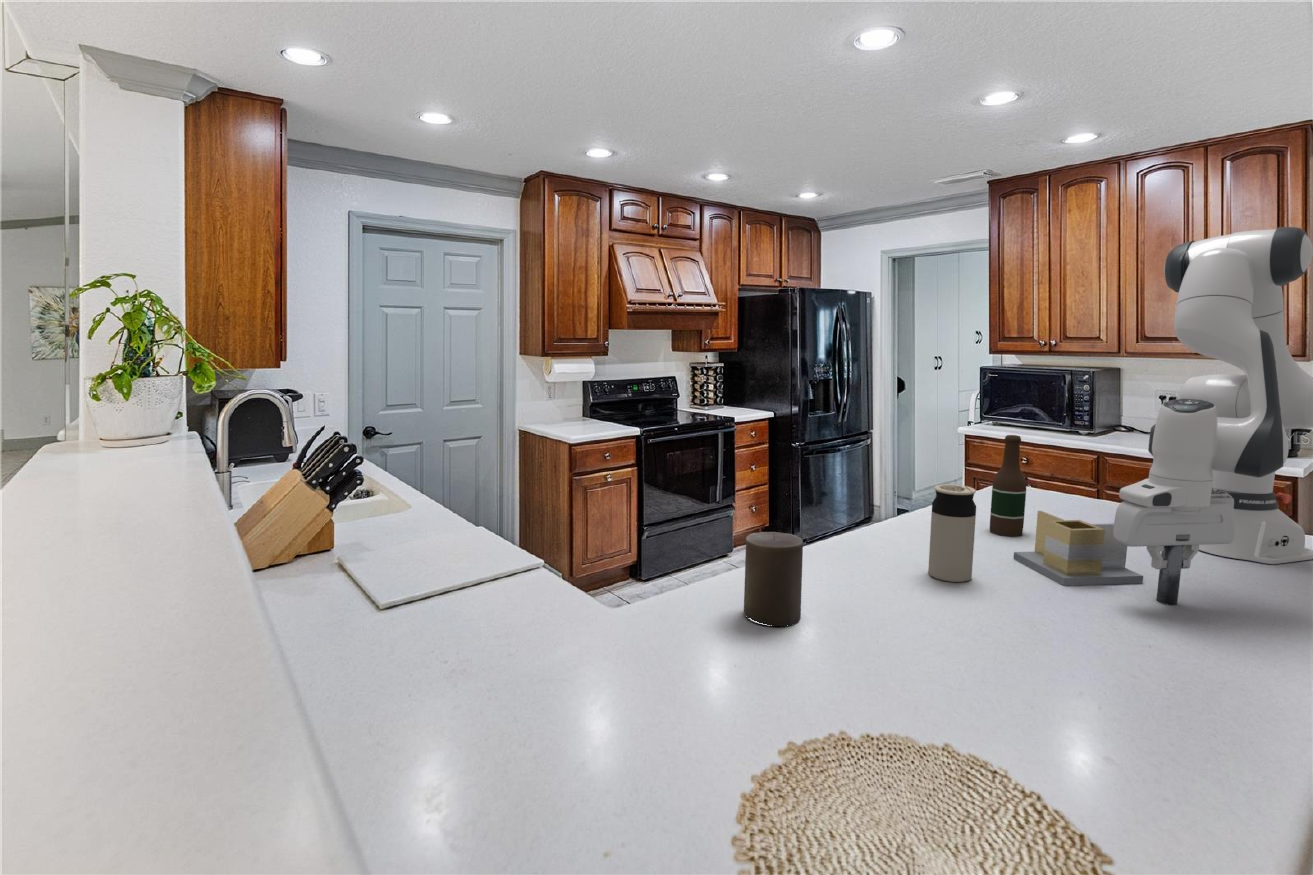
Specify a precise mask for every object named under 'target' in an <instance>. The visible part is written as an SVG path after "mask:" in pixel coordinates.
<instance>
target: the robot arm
mask: <svg viewBox="0 0 1313 875" xmlns="http://www.w3.org/2000/svg"><path fill="white" fill-rule="evenodd" d="M1312 259H1313V243H1312V241H1311V239H1310V237H1309V234H1308V232H1307V231H1305V230H1304V229H1303V228H1301V227H1294V226H1293V227H1292V226H1282V227H1281V226H1280V227H1279V226H1277V228H1276V229H1275V228H1274V229H1273V228H1272V229H1269V228H1268V229H1255V230H1245V231H1244V230H1242V231H1239V232H1238V231H1236V232H1232V233H1229V234H1224V235H1219V236H1214V237H1209V238H1205V239H1201V240H1198V241H1196V240H1191V241H1186V242H1183V243H1181V244H1178V245H1176V246H1174V247H1173V248H1172V249H1171V250H1170V252H1168V254H1167V256H1166V259H1165V262H1164V268H1163V274H1164V280H1165V283H1166V285H1167V287H1168V288H1169V289H1171V290H1172V291H1173V292H1175V293H1177V299H1176V303H1175V308H1174V315H1173V316H1174V317H1173V332H1174V334H1175V337H1176V338H1177V339H1178V341H1179V342H1180V344H1182V345H1184V346H1185V347H1186V348H1188V349H1189V350H1191V351H1192V352H1194V353H1197V354H1199V355H1202V356H1205V357H1208V358H1211V359H1215V360H1218V361H1221V362H1224V363H1227V364H1230V365H1232V366H1235V367H1237V368H1238V369H1239V370H1241V371H1242V372H1243V373H1244V374H1229V373H1227V374H1225V373H1224V374H1223V373H1213V374H1204V375H1199V376H1197V375H1196V376H1192V377H1190V378H1189V379H1187V380H1186V381H1185V382H1184V383H1183V384H1182V385H1181V386H1180V388H1179V390H1178V393H1177V397H1176V398H1177V399H1169V400H1168V401H1166V402H1163V403H1162V404H1161V405H1160V409H1159V412H1158V415H1157V417H1156V422H1155V423H1154V424H1153V425H1152V426H1151V427H1150V432H1149V440H1148V450H1147V451H1148V452H1149V454H1150V455H1151V456H1152V457H1153V459H1152V465H1151V466H1150V469H1149V473H1148V478H1144V479H1142V480H1140V481H1137V482H1135V483H1132V484H1129V485H1126V486H1124V487H1121V488H1120V489H1119V494H1118V496H1119V499H1121V500H1122V502H1120V503H1119V504H1118V506H1117V508H1116V511H1115V515H1114V519H1113V520H1114V522H1113V523H1114V529H1113V535H1114V538H1115V539H1116V540H1117V542H1119V543H1121V544H1124V545H1127V547H1131V548H1132V547H1133V548H1134V547H1136V548H1137V547H1146V550H1147V552H1148V555H1149V556H1150V557H1151V563H1150V564H1151V567H1152V568H1154V569H1156V570H1160V569H1166V568H1167V562H1168V560H1165V559H1163V558H1162V555H1161V553H1162V551H1163V549H1164V546H1172V545H1184V550H1183V558H1182V567H1181V570H1183V569H1184V570H1185V569H1186V570H1187V569H1190V568H1191V564H1192V560H1193V559H1194V557H1195V556H1196V555H1197V553H1198V552H1199V551H1202V552H1204V553H1208V554H1212V555H1217V556H1219V557H1224V558H1225V557H1226V558H1230V559H1231V558H1232V559H1238V560H1244V561H1252V562H1257V563H1262V564H1268V565H1276V564H1286V563H1293V562H1299V561H1300V562H1301V561H1308V560H1309V561H1310V560H1313V549H1311V548H1308V547H1306V533H1305V529H1304V528H1303V527H1302V526H1301V525H1300V524H1299V523H1297V522H1295V521H1294V520H1293V519H1292V518H1290V517H1289V516H1288V515H1287V514H1286V513H1284V512H1283V511H1282V510H1280V509H1279V508H1280V505H1279V503H1282V504H1289V503H1290V502H1292V496H1291V494H1288V493H1282V492H1277V493H1276V492H1274V486H1275V485H1274V484H1275V476H1276V472H1277V471H1279V470H1280V469H1281V468H1283V467H1284V464H1285V463H1286V461H1287V459H1288V455H1289V449H1290V448H1289V446H1290V443H1289V438H1288V435H1287V431H1286V430H1296V429H1308V428H1309V429H1310V428H1313V376H1312V375H1310V374H1309V373H1307V372H1306V371H1305V370H1304V369H1303V368H1302V367H1300V365H1299V364H1298V362H1296V360H1295V359H1294V358H1293V356H1292V354H1291V353H1290V350H1289V347H1288V345H1287V340H1286V331H1285V314H1284V308H1285V307H1284V306H1285V305H1284V293H1283V288H1282V287H1284V286H1287V284H1289V283H1292V282H1295V281H1297V280H1298V279H1300V278H1301V277H1302V276H1304V275H1305V274H1306V273H1307V270H1308V268H1309V266H1310V265H1311V262H1312ZM1176 535H1190V540H1189V541H1176Z"/></svg>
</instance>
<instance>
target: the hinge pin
mask: <svg viewBox="0 0 1313 875" xmlns="http://www.w3.org/2000/svg"><path fill="white" fill-rule="evenodd" d="M1189 540H1190V535H1176V541H1189ZM1183 550H1184V545H1172V546H1164V549H1163V551H1161V552H1160V553H1161V555H1162V558H1163V559H1165V560H1168V562H1167V568H1166V569H1159V571H1158V581H1157V589H1156V599H1155V600H1156V602H1158V603H1159V604H1163V605H1167V604H1168V605H1167V606H1177V605H1178V598H1179V593H1180V592H1179V591H1180V581H1181V574H1182V569H1181V567H1182V558H1183Z"/></svg>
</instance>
